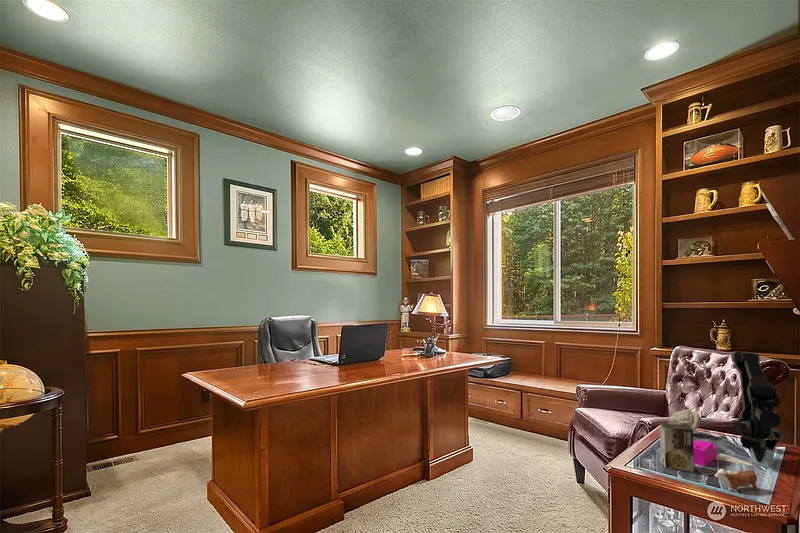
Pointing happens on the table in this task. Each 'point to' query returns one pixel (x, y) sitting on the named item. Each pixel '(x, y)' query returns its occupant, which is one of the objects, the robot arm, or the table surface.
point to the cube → (764, 458)
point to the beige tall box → (676, 446)
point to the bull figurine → (737, 478)
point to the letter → (731, 459)
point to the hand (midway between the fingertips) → (762, 460)
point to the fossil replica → (686, 418)
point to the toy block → (704, 452)
